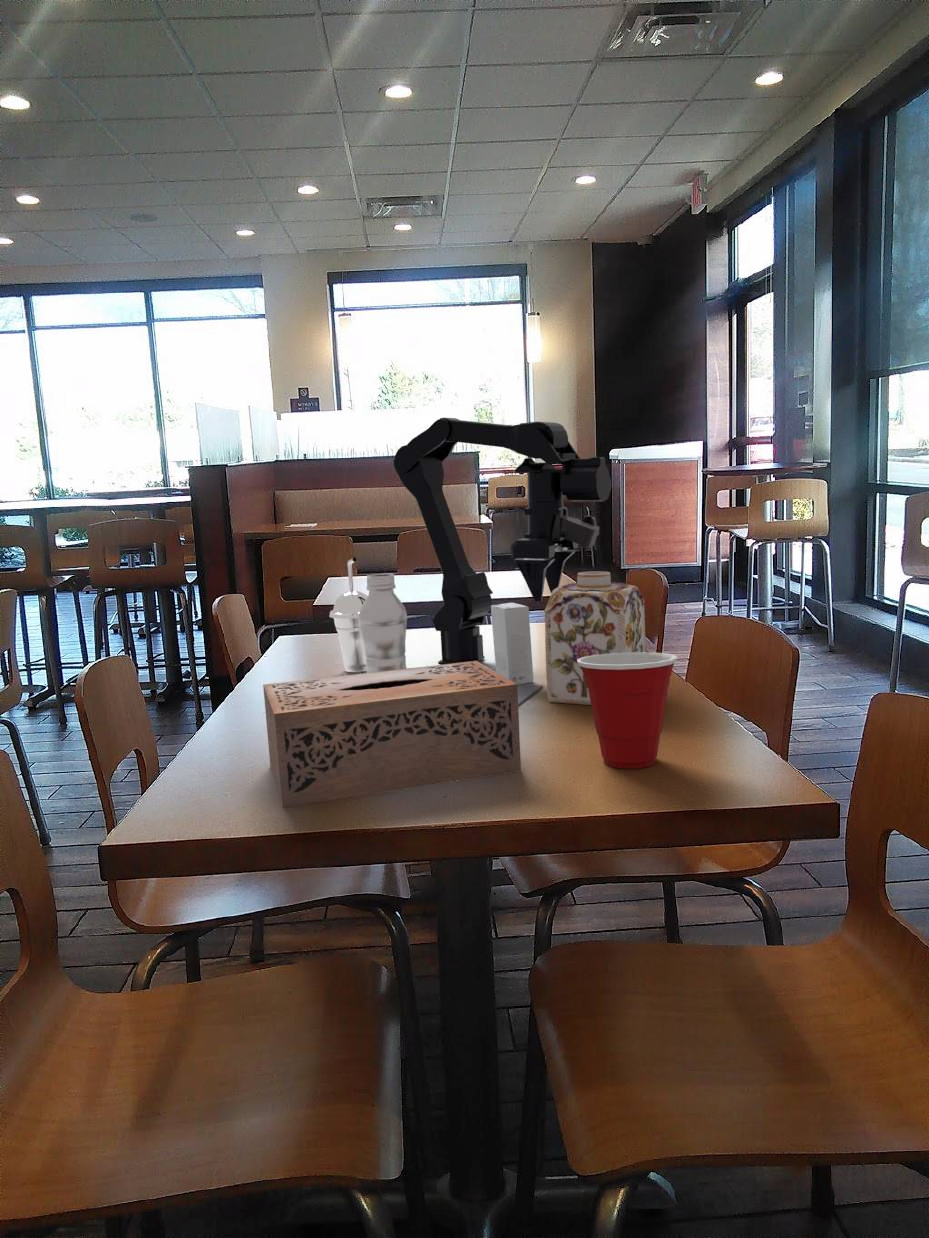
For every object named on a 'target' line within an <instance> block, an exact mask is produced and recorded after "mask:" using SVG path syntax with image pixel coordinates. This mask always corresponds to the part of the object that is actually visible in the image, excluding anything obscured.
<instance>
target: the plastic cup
mask: <svg viewBox="0 0 929 1238" xmlns="http://www.w3.org/2000/svg"><path fill="white" fill-rule="evenodd" d="M677 660H678V657H677V656H676V655H675V654H671V653H667V652H665V653H664V652H650V651H649V652H629V653H611V654H600V655H593V656H587V657H583V658H580V659H577V662H578V665H579V666H581V669H582V672H583V674H584V678H585V679H586V684H587V688H588V690H589V696H590V701H591V705H590V706H591V710H592V711H591V712H592V715H593V720H594V726H595V730H596V734H597V737H598V742H599V747H600V752H601V756H602V757H601V758H602V759H603V763H604V764H605V765H607V766H609V767H613V768H617V769H625V770H626V769H628V770H629V769H631V770H634V769H635V770H636V769H637V770H638V769H641V768H644V769H645V768H648V767H650V766H652V765H654V763H656V759H657V757H658V752H659V745H660V737H661V734H662V729H663V723H664V716H665V710H666V702H667V697H668V689H669V686H670V682H671V676H672V674H673V673H672V672H673V671H672V670H673V668H674V665H675V663H676V662H677Z"/></svg>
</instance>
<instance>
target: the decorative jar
mask: <svg viewBox="0 0 929 1238" xmlns="http://www.w3.org/2000/svg"><path fill="white" fill-rule="evenodd" d="M576 578H577V581H576V582H573V583H568V584H564V585H559V587H557V588H556V589H554V590H553V591H552V593H551V594H550V597H549V599H548V602H547V604H546V606H545V609H544V610H543V612H544V629H545V630H544V631H545V633H544V636H545V637H544V638H545V640H544V641H545V643H544V644H545V671H546V674H545V675H546V676H545V677H546V695H547V700H548V702H549V703H554V704H555V703H557V704H567V705H570V704H571V705H581V706H583V705H584V706H591V701H590V696H589V690H588V688H587V684H586V679H585V678H584V674H583V672H582V669H581V666H579V665H578V662H577V659H580V658H583V657H587V656H593V655H600V654H611V653H629V652H646V623H645V622H646V620H645V619H646V618H645V616H646V615H645V603H646V601H645V599H644V598H643V596H642V594H641V592H640V591H641V590H639V588H638V586H636V585H634V584H633V585H632V584H629V583H623V582H612V579H611V578H612V577H611V572H609V571H601V570H598V571H597V570H596V571H595V570H594V571H582V572H580V571H579V572H578V573H577V577H576Z"/></svg>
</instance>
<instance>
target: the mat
mask: <svg viewBox="0 0 929 1238" xmlns="http://www.w3.org/2000/svg"><path fill="white" fill-rule="evenodd" d="M543 688H544V685H543V684H527V683H525V684H517V689H518V707H519V706H521V705H522V704H523V703H524V702H526V701H527V700H528V699H529V698H531V697H532V696H534V695H535V694H536V693H538V692H539V691H540V690H541V689H543Z"/></svg>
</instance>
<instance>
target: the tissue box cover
mask: <svg viewBox="0 0 929 1238" xmlns="http://www.w3.org/2000/svg"><path fill="white" fill-rule="evenodd" d="M262 687H263V701H264V708H265V719H266V721H265V722H266V732H267V744H268V753H269V755H268V756H269V766H270V769H271V772H272V776H273V779H274V783H275V787H276V791H277V794H278V797H279V800H280V804H281V807H282V808H287V807H294V806H301V805H306V804H313V803H319V802H320V803H321V802H327V801H333V800H339V799H345V798H353V797H359V796H366V795H371V794H378V793H386V792H392V791H400V790H405V789H406V790H407V789H413V788H418V787H419V788H420V787H426V786H433V785H438V784H439V783H440V784H445V783H444V782H447V783H451V782H450V781H453V782H457V781H456V780H460V781H466V780H472V779H478V778H484V777H485V778H486V777H491V776H492V777H493V776H499V775H505V774H504V773H506V774H511V773H510V772H513V773H517V772H516V771H519V772H521V771H522V761H521V739H520V738H521V737H520V719H519V718H520V717H519V715H520V714H519V706H518V689H517V684H516V683H514V682H512V681H510V680H509V679H507V678H505V677H504V676H502V675H500V674H498V673H497V672H496V670H493V669H491V668H490V667H489V666H486V665H484V664H483V663H481V662H480V661H479V662H478V661H470V662H461V663H452V664H436V665H426V666H418V667H410V668H409V667H408V668H407V669H399V670H390V671H381V672H372V673H367V672H365V673H364V672H363V673H356V674H346V675H337V676H329V677H320V678H312V679H310V678H309V679H302V680H294V681H293V680H292V681H285V682H284V681H283V682H274V683H266V684H263V685H262ZM440 784H439V785H440Z"/></svg>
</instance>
